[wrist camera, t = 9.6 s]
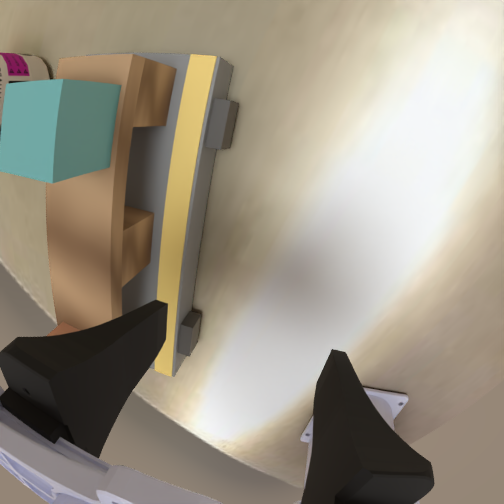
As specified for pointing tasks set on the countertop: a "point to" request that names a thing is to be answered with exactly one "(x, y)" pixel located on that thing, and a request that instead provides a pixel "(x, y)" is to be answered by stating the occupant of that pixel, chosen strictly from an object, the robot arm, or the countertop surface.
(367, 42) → the countertop surface
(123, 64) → the brown long bar
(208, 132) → the dock
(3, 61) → the supplement can
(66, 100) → the teal crate
